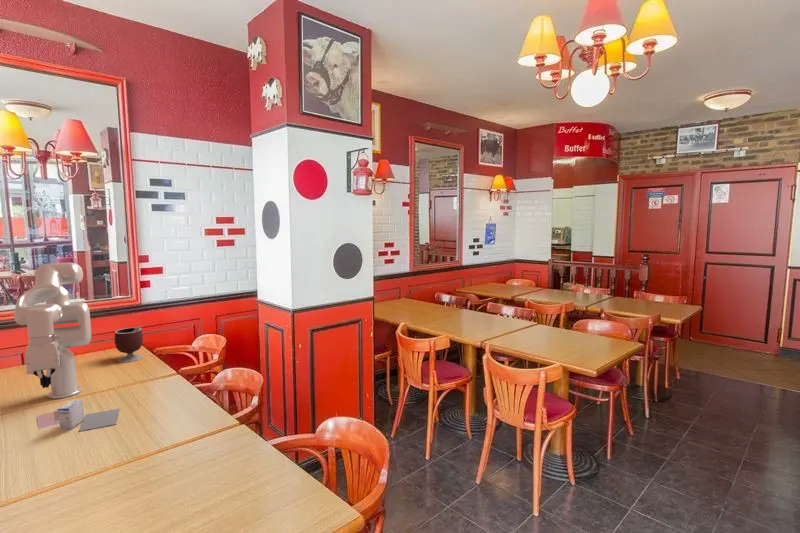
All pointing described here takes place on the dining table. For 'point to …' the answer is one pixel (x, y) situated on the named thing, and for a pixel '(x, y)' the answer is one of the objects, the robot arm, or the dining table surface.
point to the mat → (99, 420)
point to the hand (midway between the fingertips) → (46, 386)
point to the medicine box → (71, 414)
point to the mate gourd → (129, 343)
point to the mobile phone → (48, 420)
